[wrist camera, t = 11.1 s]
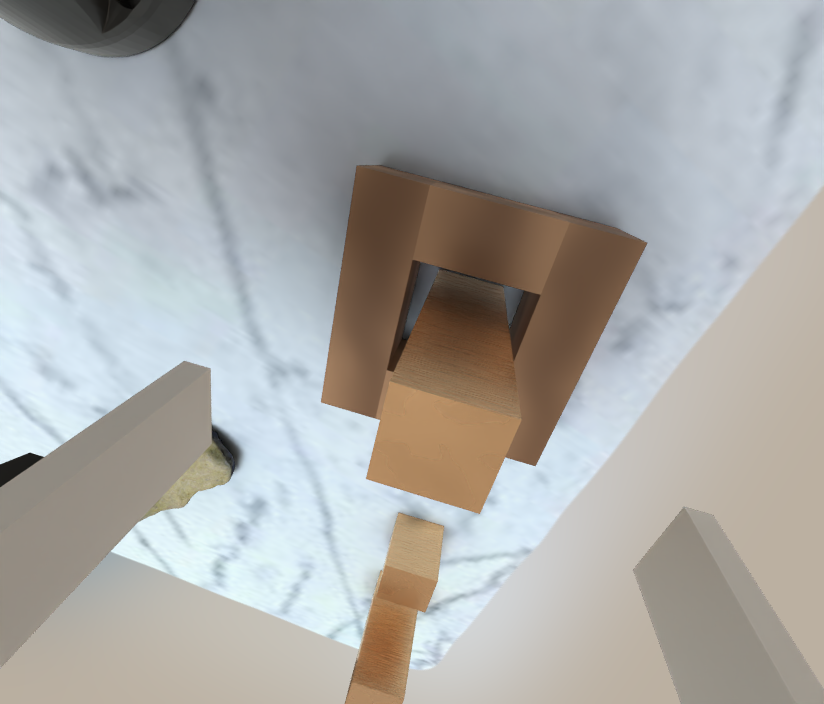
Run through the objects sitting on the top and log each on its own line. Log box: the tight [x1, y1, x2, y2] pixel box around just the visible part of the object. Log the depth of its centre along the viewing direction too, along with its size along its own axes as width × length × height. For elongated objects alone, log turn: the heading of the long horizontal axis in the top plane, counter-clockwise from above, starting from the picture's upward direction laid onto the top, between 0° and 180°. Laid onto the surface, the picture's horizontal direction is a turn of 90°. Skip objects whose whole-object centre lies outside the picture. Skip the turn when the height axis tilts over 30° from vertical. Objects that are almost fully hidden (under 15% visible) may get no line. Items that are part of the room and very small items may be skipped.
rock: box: [140, 431, 235, 521], centre depth 33 cm, size 11×6×10 cm
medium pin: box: [345, 571, 418, 704], centre depth 34 cm, size 4×4×9 cm
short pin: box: [376, 512, 444, 612], centre depth 32 cm, size 4×4×5 cm
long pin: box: [366, 269, 522, 514], centre depth 19 cm, size 4×4×14 cm
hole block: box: [321, 165, 647, 466], centre depth 23 cm, size 14×14×4 cm
